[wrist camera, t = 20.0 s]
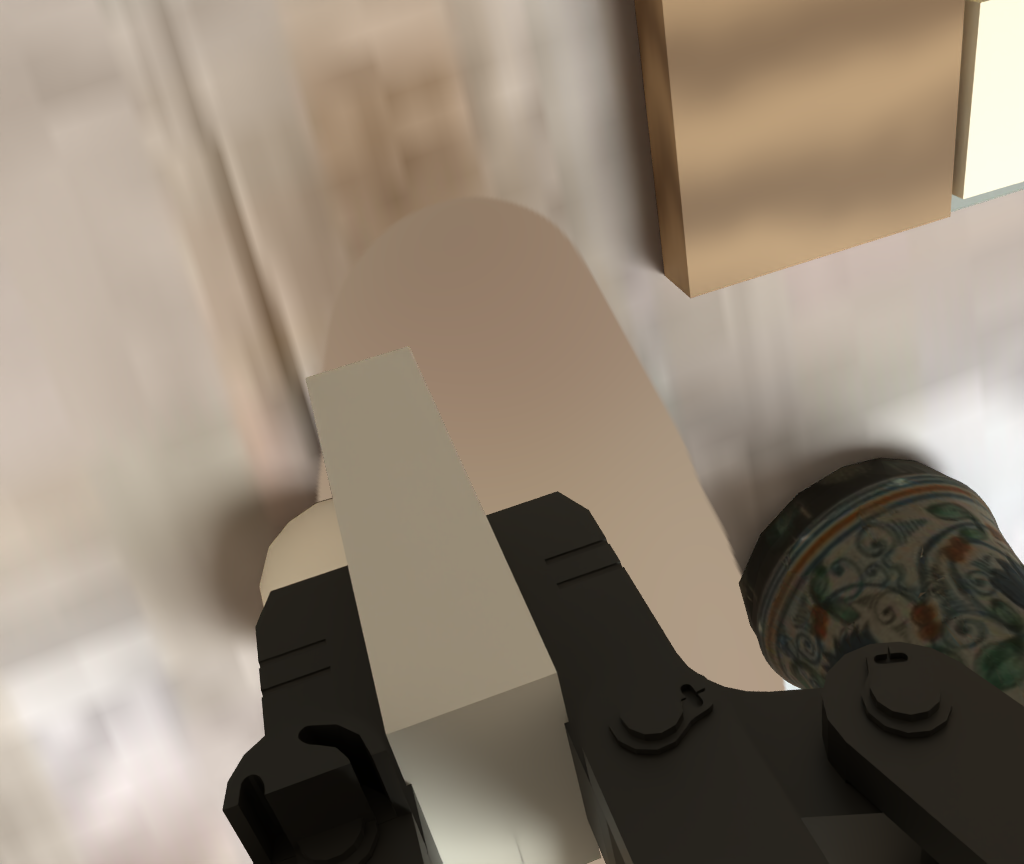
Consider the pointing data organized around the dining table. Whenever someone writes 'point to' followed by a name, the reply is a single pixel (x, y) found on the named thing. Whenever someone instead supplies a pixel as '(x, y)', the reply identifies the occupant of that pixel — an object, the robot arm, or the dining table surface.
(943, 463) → the dining table surface
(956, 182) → the ivory tile
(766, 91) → the walnut deck
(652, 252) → the dining table surface
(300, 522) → the teardrop
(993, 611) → the beer stein
